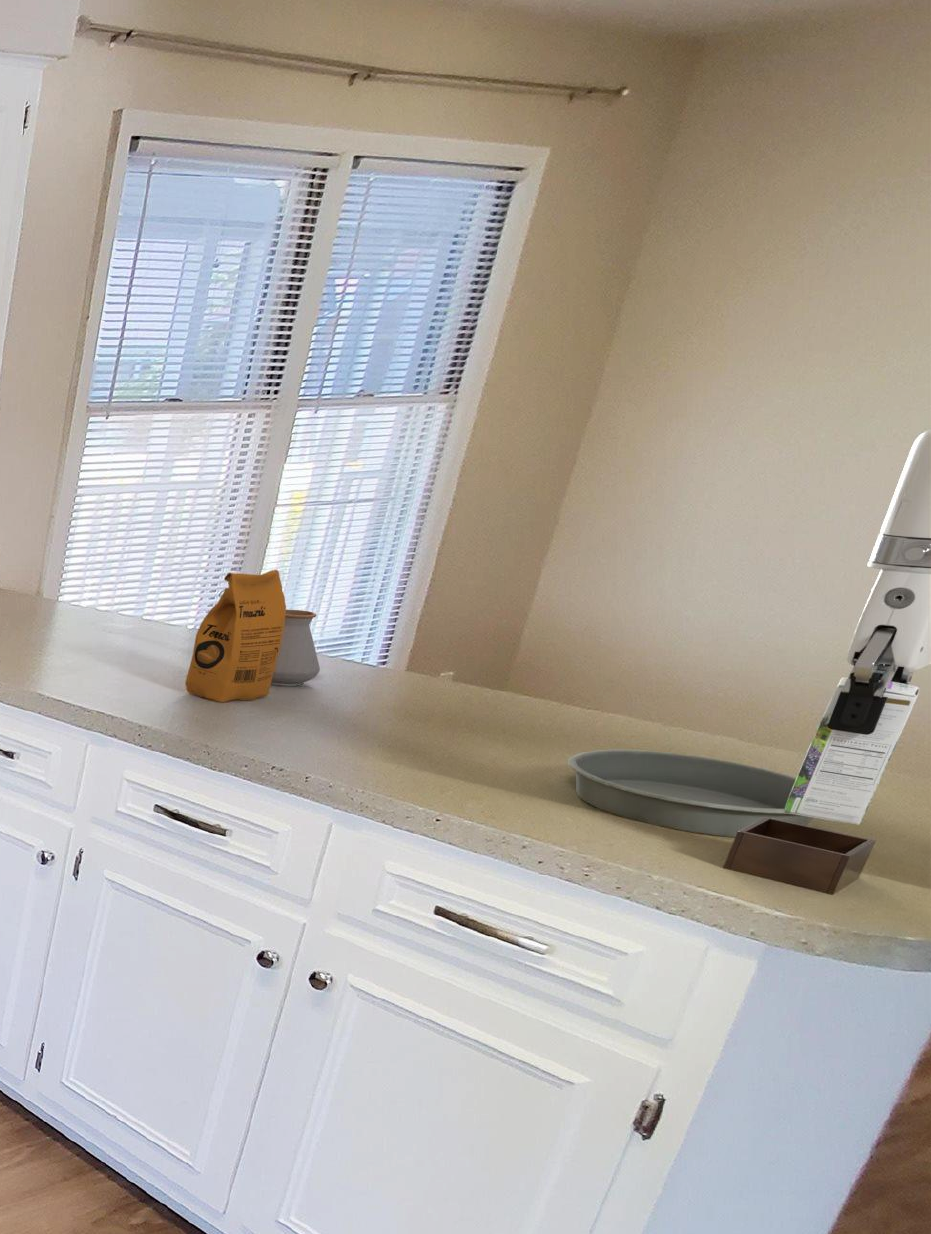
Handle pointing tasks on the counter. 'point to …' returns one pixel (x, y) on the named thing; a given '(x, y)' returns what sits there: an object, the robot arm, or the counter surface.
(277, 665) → the coffee pot
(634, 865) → the counter surface
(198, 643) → the coffee package
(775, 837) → the caddy
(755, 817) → the cake pan
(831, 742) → the syrup box
